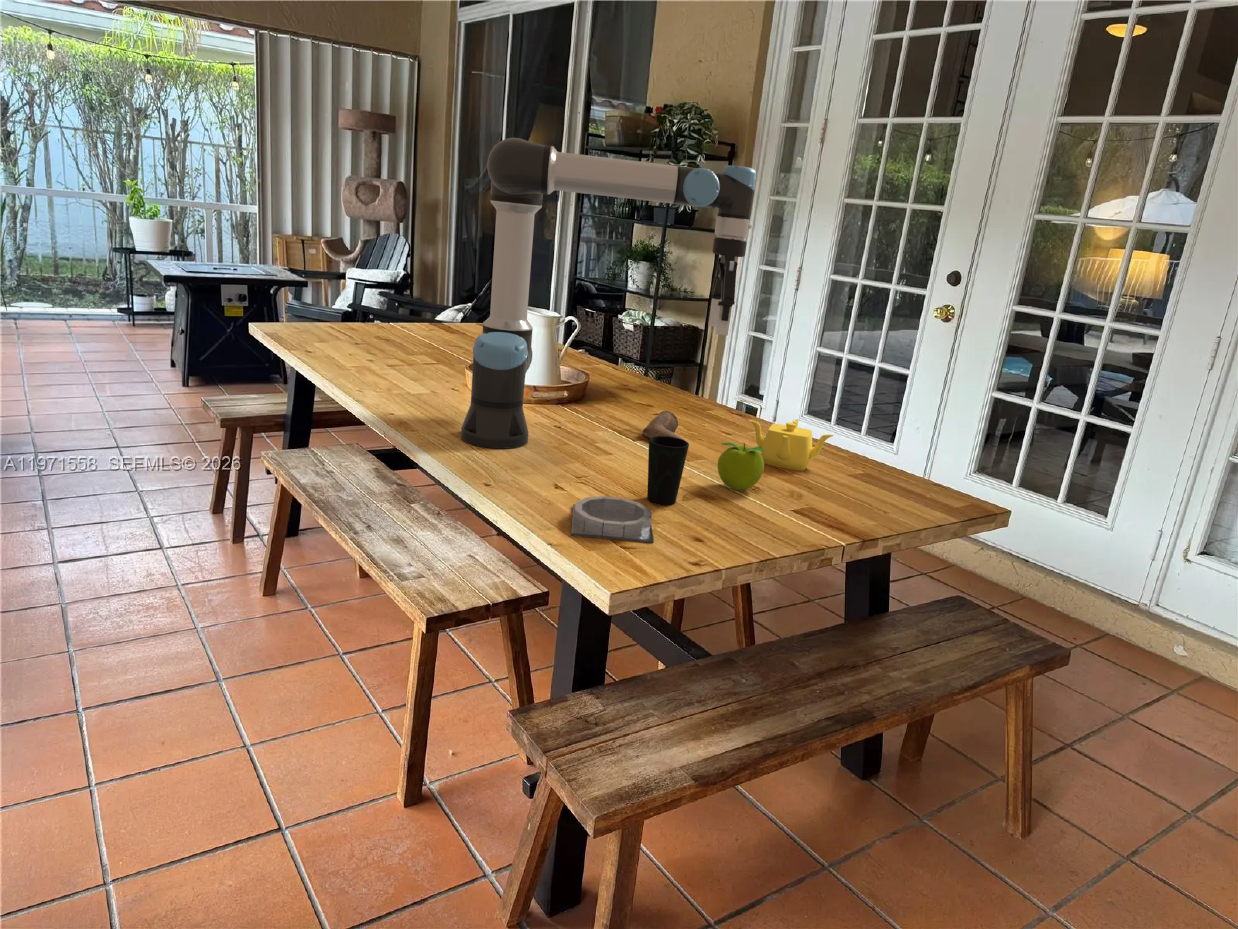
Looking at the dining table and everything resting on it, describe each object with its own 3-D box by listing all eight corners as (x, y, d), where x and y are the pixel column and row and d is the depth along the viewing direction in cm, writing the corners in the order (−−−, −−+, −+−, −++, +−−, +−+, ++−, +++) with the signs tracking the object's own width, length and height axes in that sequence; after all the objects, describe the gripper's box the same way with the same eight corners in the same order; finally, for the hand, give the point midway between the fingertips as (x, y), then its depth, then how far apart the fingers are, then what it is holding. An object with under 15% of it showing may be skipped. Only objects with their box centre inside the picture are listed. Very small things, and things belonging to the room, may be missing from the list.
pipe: (674, 434, 195) (707, 424, 200) (632, 415, 208) (664, 406, 213) (674, 459, 197) (707, 449, 203) (633, 439, 210) (664, 430, 215)
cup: (639, 492, 167) (647, 434, 163) (677, 495, 168) (685, 437, 164) (644, 506, 160) (651, 445, 156) (683, 509, 160) (692, 448, 157)
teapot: (828, 471, 196) (835, 431, 193) (779, 474, 190) (786, 432, 187) (789, 452, 208) (795, 414, 205) (742, 454, 202) (748, 415, 199)
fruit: (749, 499, 170) (757, 452, 167) (708, 487, 174) (714, 441, 171) (766, 489, 178) (774, 444, 175) (726, 478, 182) (733, 433, 179)
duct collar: (571, 535, 142) (572, 520, 141) (573, 506, 155) (574, 492, 154) (653, 543, 142) (655, 528, 142) (648, 513, 156) (650, 500, 155)
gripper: (756, 242, 180) (741, 340, 187) (738, 237, 204) (725, 324, 210) (722, 238, 180) (708, 336, 186) (707, 233, 204) (696, 321, 210)
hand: (717, 330), depth 198 cm, fingers open, 13 cm apart
